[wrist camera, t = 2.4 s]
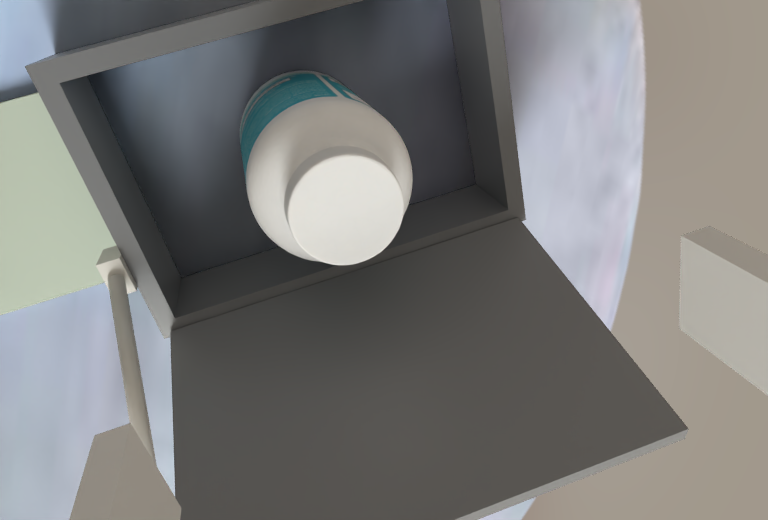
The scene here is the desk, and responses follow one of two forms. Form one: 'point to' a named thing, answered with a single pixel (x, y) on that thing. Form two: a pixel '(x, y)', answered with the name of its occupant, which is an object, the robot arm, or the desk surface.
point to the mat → (43, 211)
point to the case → (365, 327)
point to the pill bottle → (323, 169)
